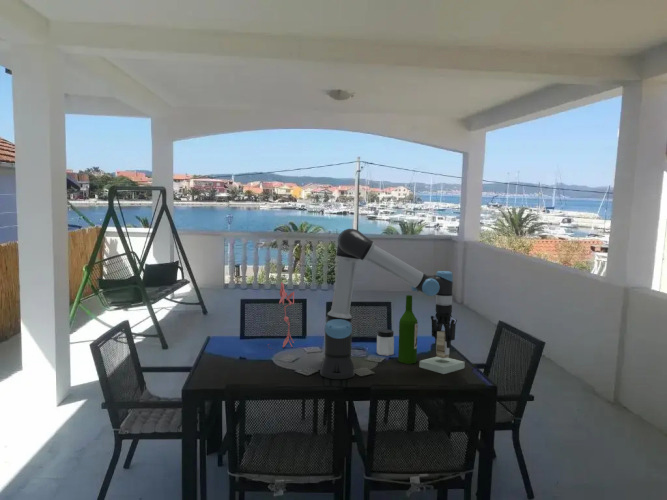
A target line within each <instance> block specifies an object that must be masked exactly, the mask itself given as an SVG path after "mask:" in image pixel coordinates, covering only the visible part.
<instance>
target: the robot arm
mask: <svg viewBox="0 0 667 500" xmlns="http://www.w3.org/2000/svg"><path fill="white" fill-rule="evenodd" d="M336 247H337V248H336V254H335V256H336V258H337V259H338V263H337V270H336V276H335V282H334V283H335V284H334V290H333V296H332V304H331V309H330V311H328V312H327V313H326V314H327V315H326V316H327V317H326V322H325V324H324V339H325V340H324V358H323V362H322V365H321V367H320V372H319V373H320V376H322V377H323V378H326V379H330V380H331V379H332V380H345V379H351V378H354V377H355V375H356V373H355V367H354V363H353V360H352V332H353V326H352V315H351V313H350V310H351V304H352V297H353V291H354V284H355V278H356V271H357V263H358V262H359V261H367V262H370V263H371V264H372V265H374V266H377V268H380V269H381V270H383V271H385V272H387V273H388V274H389V275H391V276H394V277H395V278H397V279H399V280H400V281H402V282H404V283H406V284H407V285H409V286H410V290H411V291H412V292H421V293H423V294H424V295H426V296H428V297H432V296H435V315H430V319H431V337H432V338H434V341H435V342H434V345H435V348H436V349H435V353H436V354H437V331H442V329H443V327H444V331H445V335H446V340H445V352H444V355H448V354H449V355H450V348H451V347H452V341H455V339H456V324H457V322H458V320H457V318H454V317H453V316H452V313H453V305H452V304H453V287H454V286H453V285H454V281H453V280H454V279H453V278H454V277H453V273H452V271H448V270H438V271H436V273H435V275H427V274H425V273H424V272H423V271H420V270H419V269H417V268H415V267H413V266H412V265H411V264H408V263H406V262H405V261H404V260H402V259H400V258H398V257H396V256H394V255H393V254H391V253H389V252H388V251H386V250H384V249H383V248H381V247H379V246H378V245H375V242H374V241H373V240H372V239H370V238H368V237H367V236H366V235H364V234H363V233H362V231H359V230H358V229H355V228H347V229H344V230H343V231H342V232H340V234H339V235H338V238H337V246H336Z"/></svg>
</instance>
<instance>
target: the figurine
mask: <svg viewBox="0 0 667 500" xmlns="http://www.w3.org/2000/svg"><path fill="white" fill-rule="evenodd" d="M279 297H280V299H279V302H278V305H281V304H282V305H283V306H284V304H285V298H286V301H288V304H287V305H285V306H284V317H283V321H284V322H286V324H287V325H288V326H291V325H290V324H291V323H290V321H289V319H290V318H289V317H288V316H286V315H287V312H286V308H287V307H288V306H290V307H291V306H292V305H295V291H292V292H291V293H289V294H288V293H287V292H286V290H285V283H283V282H282V281H281V282H280V290H279ZM291 298H292V301H291V300H290V299H291ZM287 328H288V329H287V335H286V337H285V339H284V340H283V344H282V348H285V347H286V345H287V344H288V343H289V345H290V346H291V348H292V347H293V343H294V344H295V342H294V341H296V340H293V338H292V336H291V333H290V327H287ZM289 339H290V340H289ZM291 342H292V343H291ZM269 345H270V343H269V344H267V347H268V349H271V350H272V348H270V347H269Z"/></svg>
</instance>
